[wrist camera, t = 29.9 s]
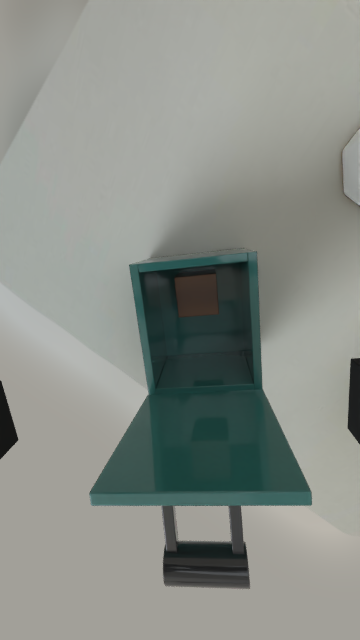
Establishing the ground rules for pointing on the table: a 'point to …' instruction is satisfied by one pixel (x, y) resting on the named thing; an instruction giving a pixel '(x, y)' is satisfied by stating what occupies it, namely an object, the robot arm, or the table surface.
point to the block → (197, 293)
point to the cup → (352, 168)
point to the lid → (203, 475)
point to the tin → (199, 325)
